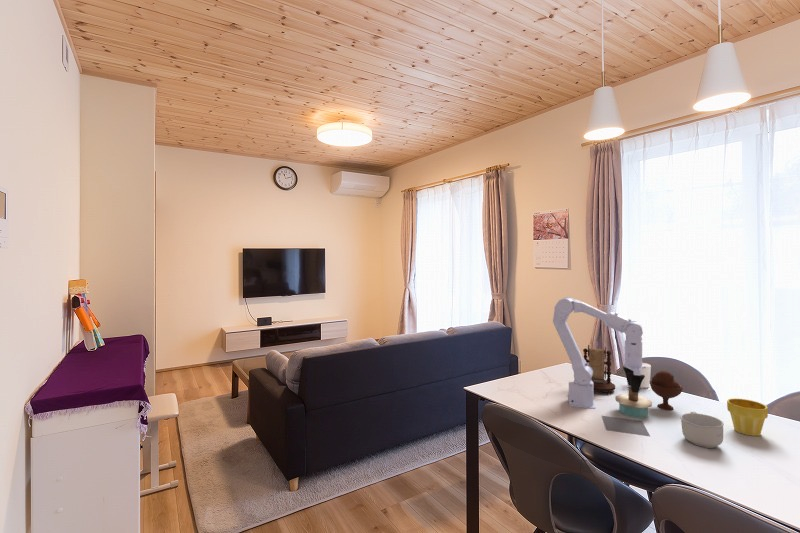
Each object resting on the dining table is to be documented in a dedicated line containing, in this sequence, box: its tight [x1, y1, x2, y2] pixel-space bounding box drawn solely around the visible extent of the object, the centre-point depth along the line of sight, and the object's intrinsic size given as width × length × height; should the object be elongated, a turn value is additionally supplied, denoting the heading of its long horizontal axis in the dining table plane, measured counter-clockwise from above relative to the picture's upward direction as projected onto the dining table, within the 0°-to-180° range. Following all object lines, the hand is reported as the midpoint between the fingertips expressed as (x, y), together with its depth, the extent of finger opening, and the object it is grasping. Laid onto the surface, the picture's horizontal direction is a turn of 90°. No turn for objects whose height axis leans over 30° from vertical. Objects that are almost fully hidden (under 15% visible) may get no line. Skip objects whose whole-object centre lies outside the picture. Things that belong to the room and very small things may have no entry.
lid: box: [614, 386, 653, 409], centre depth 147 cm, size 12×12×5 cm
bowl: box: [618, 403, 649, 419], centre depth 147 cm, size 9×9×4 cm
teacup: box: [680, 411, 724, 449], centre depth 124 cm, size 14×11×8 cm
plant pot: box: [726, 398, 769, 437], centre depth 131 cm, size 10×10×10 cm
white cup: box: [640, 362, 652, 389], centre depth 179 cm, size 8×8×10 cm
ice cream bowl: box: [649, 370, 684, 412], centre depth 152 cm, size 11×11×15 cm
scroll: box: [582, 344, 616, 395], centre depth 175 cm, size 15×15×20 cm
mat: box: [601, 415, 651, 437], centre depth 136 cm, size 13×13×1 cm
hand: (633, 388), depth 147 cm, fingers open, 7 cm apart
